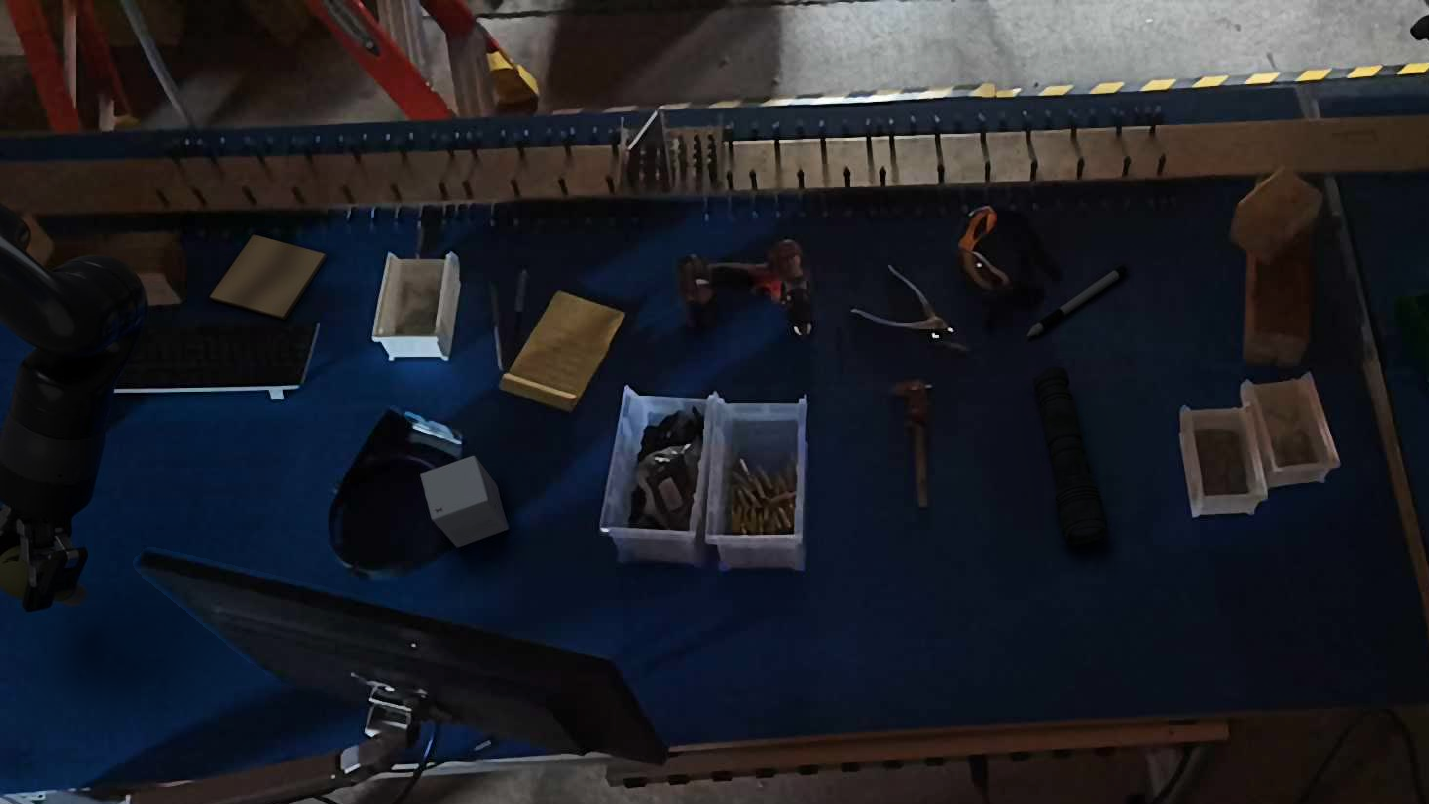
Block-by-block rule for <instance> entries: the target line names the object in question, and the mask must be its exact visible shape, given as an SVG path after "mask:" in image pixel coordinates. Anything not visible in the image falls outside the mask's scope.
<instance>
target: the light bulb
mask: <svg viewBox="0 0 1429 804" xmlns="http://www.w3.org/2000/svg"><path fill="white" fill-rule="evenodd" d="M54 549H55V548H53V547H50V548H43V549H34V553H40V552H46V551H52V550H54ZM47 565H48V563H46V564H42V565H41V566H40V573H43V572H45V569H46V567H47ZM27 581H29V576H28V564H27V563H25V562H24V561H22V559H21V545H17V546H15V547H12V548H10V549H9V550H7V551H6V552H4V553H3V554H2V555H1V556H0V589H1V590H2V591H3V592H4V593H5V594H7V595H8V596H10V597H13V598H14V599H18V600H22V601H23V599H24V594H25V590H26V586H27ZM87 597H88V588H87V587H86V586H85V585H83V584H81V583H79V582H78V581H77V583H76V585H75V588H74V589H73V590H68V591H67V590H65V591H60V592H55V594H54V598H53V602H59V603H61V604H63V605H64V606H67V607H70V608H73V607H77V606H79V605H81V604H82V603H83V602H85V600H86V599H87Z"/></svg>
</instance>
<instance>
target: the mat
mask: <svg viewBox="0 0 1429 804" xmlns="http://www.w3.org/2000/svg"><path fill="white" fill-rule="evenodd" d="M327 258H328V256H327V254H326V253H324V252H320V251H317V250H313V249H309V248H304V247H301V246H298V245H294V244H290V243H287V242H283V241H279V240H275V239H272V238H268V237H264V236H261V235H257V234H253V235H251V237H250V239H249V240H248V242H247V243H246V244H245V246H244V248H243V249H242V250H241V251H240V253H239V255H238V256H237V257H236V259H235V260H234V261H233V263H232V265H231V266H230V267H229V268H228V270H227V271H226V272H225V274H224V275H223V277H222V278H221V280H220V282H219V283H218V284H217V285H216V287H215V289H214V290H213V291H212V293H211V294H210V296H209V298H210V300H212V301H216V302H218V303H219V302H220V303H223V304H226V305H230V306H233V307H238V308H241V309H244V310H249V311H251V312H255V313H259V314H263V315H266V316H270V317H273V318H276V319H280V320H284V321H286V320H287V318H288V317H289V316H290V314H291V312H292V311H293V309H294V308H295V307H296V305H297V303H298V302H299V300H300V299H301V297H302V295H304V293H305V291H306V290H307V288H308V287H309V285H310V283H311V282H312V280H313V279H314V277H315V276H316V274H318V272H319V271H320V269H321V267H322V266H323V264H324V262H325V261H326V260H327Z"/></svg>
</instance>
